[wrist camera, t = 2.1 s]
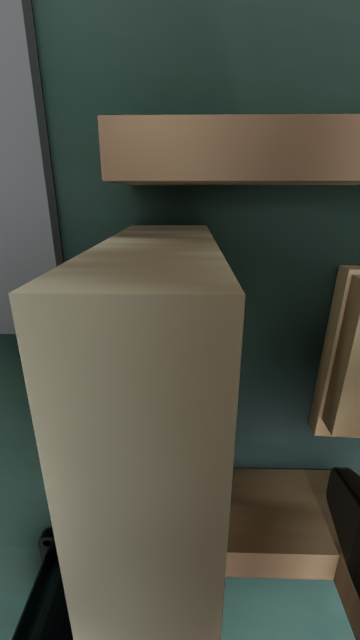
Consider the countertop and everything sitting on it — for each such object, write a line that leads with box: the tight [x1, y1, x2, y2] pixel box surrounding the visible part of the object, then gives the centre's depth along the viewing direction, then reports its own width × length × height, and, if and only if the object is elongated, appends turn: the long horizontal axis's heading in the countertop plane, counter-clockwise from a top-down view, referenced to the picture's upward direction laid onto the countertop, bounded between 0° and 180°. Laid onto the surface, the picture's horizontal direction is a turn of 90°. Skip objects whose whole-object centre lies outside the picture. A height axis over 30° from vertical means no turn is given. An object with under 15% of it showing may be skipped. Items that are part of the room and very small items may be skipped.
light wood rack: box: [97, 114, 360, 640], centre depth 11 cm, size 10×17×9 cm, turn 0°
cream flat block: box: [8, 225, 246, 640], centre depth 11 cm, size 3×11×10 cm, turn 0°
